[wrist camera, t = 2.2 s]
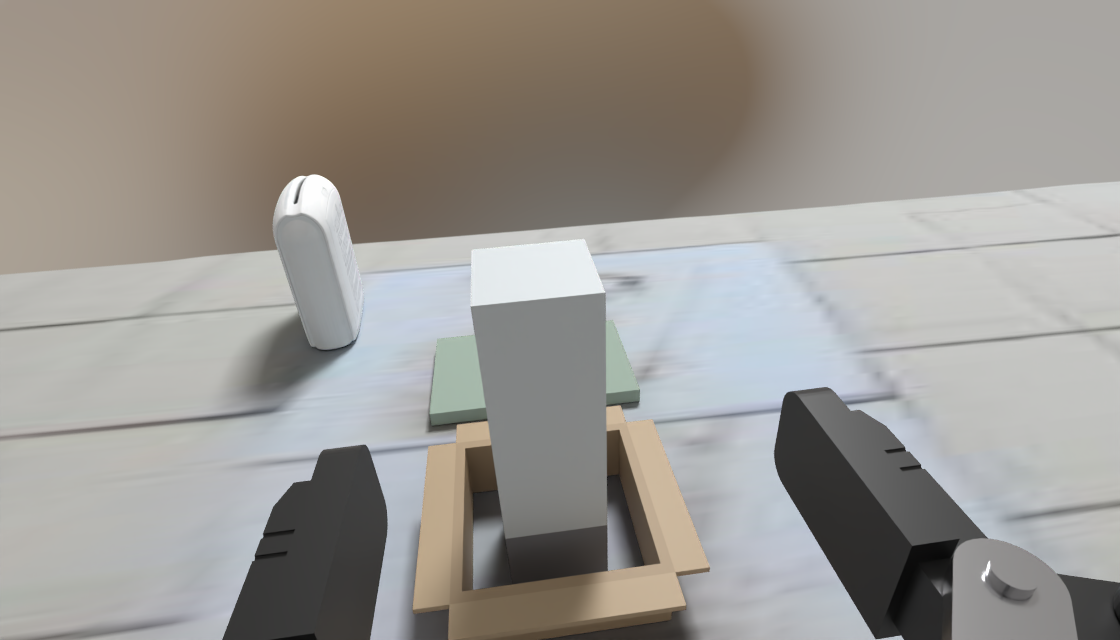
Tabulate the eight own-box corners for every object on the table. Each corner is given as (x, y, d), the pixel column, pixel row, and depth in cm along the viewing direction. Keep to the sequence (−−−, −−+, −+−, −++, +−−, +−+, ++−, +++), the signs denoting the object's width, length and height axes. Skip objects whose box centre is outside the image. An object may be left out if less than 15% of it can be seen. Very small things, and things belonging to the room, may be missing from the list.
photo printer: (321, 295, 55) (282, 166, 48) (368, 289, 55) (335, 160, 49) (305, 356, 46) (254, 208, 40) (360, 347, 47) (320, 200, 40)
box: (513, 592, 28) (470, 306, 19) (508, 516, 32) (471, 249, 23) (607, 579, 28) (605, 292, 20) (591, 505, 32) (584, 238, 24)
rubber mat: (431, 425, 38) (429, 414, 38) (439, 349, 46) (437, 339, 45) (639, 401, 39) (639, 389, 39) (613, 330, 47) (613, 320, 47)
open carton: (424, 692, 24) (409, 646, 22) (439, 471, 35) (430, 427, 33) (714, 647, 25) (722, 600, 23) (644, 446, 36) (645, 402, 34)
